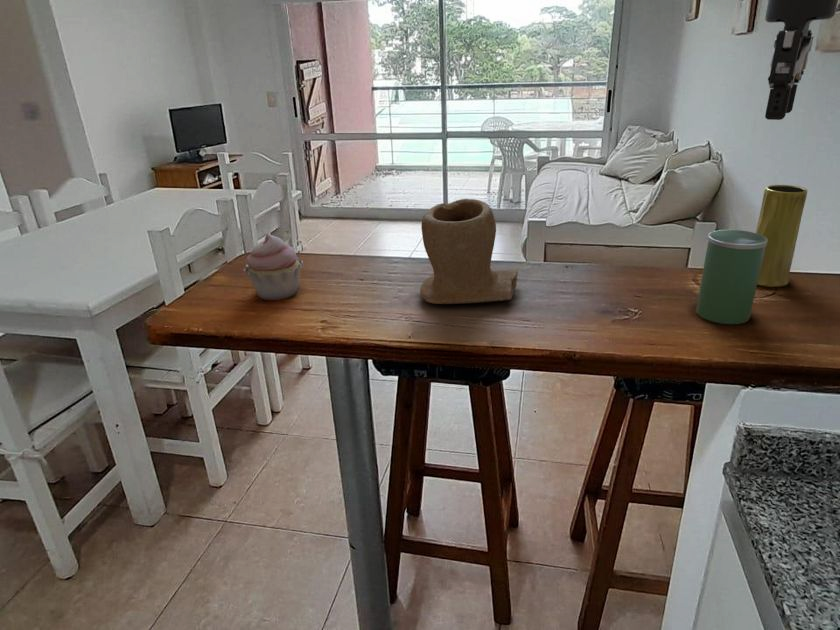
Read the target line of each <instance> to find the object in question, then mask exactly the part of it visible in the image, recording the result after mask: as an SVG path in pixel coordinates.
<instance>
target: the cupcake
mask: <svg viewBox="0 0 840 630" xmlns="http://www.w3.org/2000/svg"><path fill="white" fill-rule="evenodd" d="M303 263H304V260H303V259H299V257H297V253H296V251H295V250H294V249H293V246H290V245H288V244H286V243H285V242H284V240H283V239H282V238H280V237H278V236H275V235H272V234H269V233H266V234H265V236H264V240H262V241H260V242H259V243H257V244H255V246H254V247H253V248H252V249H251V253H250V254H248V255H247V257H246V264H245V268H244V269H243V272H244V273H245V275H246V276H247V277H248V278H249V279H250V281H251V283H252V285H253V287H254V289H255V291H256V294H257V296H258V298H260V299H262V300H266V301H277V300H278V301H279V300H280V301H281V300H285V299H288V298H290V297H293V296H295V295H296V294H297V293H298V291H299V288H300V276H301V269H302V266H303Z"/></svg>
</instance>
